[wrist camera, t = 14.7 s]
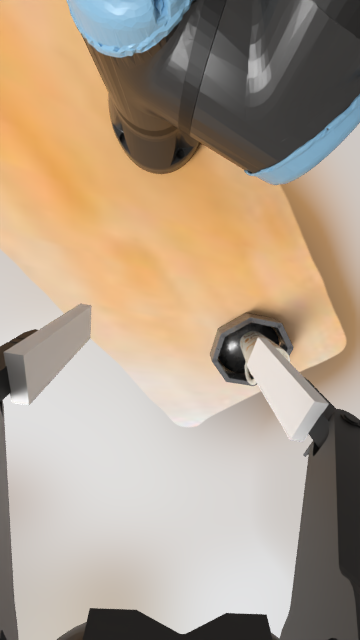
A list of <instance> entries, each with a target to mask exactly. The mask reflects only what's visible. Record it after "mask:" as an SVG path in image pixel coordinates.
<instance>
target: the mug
mask: <svg viewBox="0 0 360 640" xmlns="http://www.w3.org/2000/svg"><path fill="white" fill-rule="evenodd" d="M258 337H260V338H265V339H268V338H267V337H265V336H264V335H262V334H261V333H259V332H257V331H250V332H247V333H246V334H244V335H243V336H242V338H241V340H240V347H241V350H242V352H243V355H244V358H245V361H246V362H245V375H246V379H247V381H248V383H249V384H251V385H255V384H256V381H255V379H251V378H250V376H249V371H250V370H249V371H248V367H247V363H248V360H249V358H250V355H251V353H252V351H253V348H254V346H255V343H256V341H257V338H258ZM268 341H269V342H270V343H271V344H272V345H273V346H274V347H275V348H276V349H277V350H278V351H279V352H280V353H281V354H282V355H283V356H284V357H285V358H286V359H287V360H288V361H289V363H290V357H289V355H288V353H287V352H286V351H285V350H284V349H282V348H281V347H280V346H278V345H277V344H275V343H274V342H272V341H271V340H270V339H268ZM250 373H251V372H250ZM251 375H252V374H251Z"/></svg>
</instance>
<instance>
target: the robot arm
mask: <svg viewBox="0 0 360 640" xmlns="http://www.w3.org/2000/svg"><path fill="white" fill-rule="evenodd" d="M67 3H68V6H69V9H70V13H71V16H72V18H73V20H74V22H75V24H76V26H77V28H78V30H79V32H80V33H81V35H82V37H83V39H84V41H85V43H86V45H87V47H88V50H89V52H90V54H91V56H92V58H93V60H94V62H95V65H96V67H97V69H98V71H99V73H100V75H101V77H102V80H103V82H104V84H105V86H106V88H107V90H108V96H109V112H110V118H111V122H112V126H113V129H114V132H115V134H116V137H117V139H118V141H119V143H120V145H121V146H122V148H123V150H124V151H125V153H126V154H127V156H128V157H129V158H130V159H131V160H132V161H133V162H134V163H135V164H136V165H137V166H139V167H140V168H142V169H144V170H146V171H148V172H151V173H156V174H165V173H170V172H173V171H175V170H177V169H179V168H181V167H182V166H183V165H185V164H186V163H187V162H188V161H189V159H190V158H191V157H192V155H193V154H194V152H195V151H196V149H197V147H198V144H199V142H200V143H202V144H203V145H205V146H207V147H208V148H210V149H212V150H213V151H215V152H216V153H218V154H220V155H221V156H223V157H224V158H226V159H228V160H229V161H231V162H233V163H234V164H236V165H237V166H239V167H241V168H242V169H244V171H245V173H246V174H248V175H250V176H256V177H258V178H260V179H262V180H263V181H265V182H267V183H269V184H272V185H279V184H286V183H289V182H291V181H293V180H295V179H297V178H299V177H301V176H302V175H304V174H305V173H307V172H308V171H309V170H311V169H312V168H313V167H315V166H316V165H317V164H318V163H319V162H321V161H322V160H323V159H324V158H325V157H327V156H328V155H329V154H330V153H331V152H332V151H333V150H334V149H335V148H336V147H337V146H338V145H339V144H340V143H341V142H342V141H343V140H344V139H345V138H346V137H347V136H348V135H349V134H350V133H351V132H352V131H353V130H354V129H355V127H356V126H357V125H358V124H359V123H360V0H67ZM90 330H91V305H86V304H79V305H78V306H76V307H75V308H73V309H71V310H70V311H68V312H67V313H65V314H63V315H62V316H60V317H59V318H57V319H55V320H54V321H52V322H51V323H49V324H48V325H46V326H44V327H43V328H41V329H40V330H31V331H28V332H25V333H23V334H21V335H19V336H18V337H16V338H14V339H12V340H11V341H10V342H7V343H6V344H4V345H2V346H0V640H18V630H17V619H16V611H15V604H14V591H13V590H14V589H13V571H12V553H11V535H10V516H9V499H8V480H7V461H6V445H5V444H6V443H5V427H4V426H5V425H4V406H3V401H2V400H3V399H4V398H5V397H6V396H7V395H8V394H10V395H11V402H12V403H17V404H24V405H30V404H31V403H32V402H33V400H34V399H35V398H36V397H37V396H38V395H39V394H40V393H41V392H42V390H43V389H44V388H45V387H46V386H47V385H48V384H49V383H50V382H51V381H52V379H54V377H55V376H56V375H57V374H58V373H59V372H60V371H61V370H62V369H63V367H64V366H65V365H66V364H67V363H68V362H69V361H70V360H71V359H72V358H73V357H74V355H75V354H76V353H77V352H78V351H79V350H80V349H81V347H83V345H84V344H85V343H86V342H87V341H88V340H89V339H90ZM247 367H248V369H249V370H250V372H251V374H252V376H253V377H254V379H255V381H256V383H257V384H258V386H259V388H260V389H261V391H262V393H263V394H264V396H265V398H266V400H267V401H268V403H269V405H270V407H271V408H272V410H273V412H274V414H275V415H276V417H277V419H278V420H279V422H280V424H281V426H282V427H283V429H284V431H285V432H286V434H287V436H288V438H289V439H290V440H292V441H299V442H303V441H304V440H305V438H306V437H307V436H308V434H309V435H310V436H311V438H312V439H313V442H312V443H311V445H310V446H309V447H308V449H307V450H306V452H305V453H304V456H305V457H306V455H309V457H308V466H307V475H306V482H305V491H304V499H303V507H302V515H301V524H300V532H299V540H298V549H297V557H296V565H295V575H294V583H293V591H292V599H291V606H290V611H289V614H288V617H287V619H286V622H285V624H284V627H283V629H282V632H281V636H280V639H279V638H278V637H276V636H275V635H274V634H272V633H271V631H270V627H269V623H268V619H267V615H262V614H234V613H226V614H224V615H222V616H220V617H218V618H216V619H214V620H212V621H210V622H208V623H206V624H204V625H202V626H201V627H198V628H197V629H195V630H193V631H191V632H189V633H187V634H179V633H177V632H175V631H173V630H172V629H170V628H168V627H166V626H164V625H163V624H161V623H159V622H157V621H155V620H154V619H152V618H150V617H148V616H146V615H145V614H143V613H141V612H139V611H137V610H123V609H122V610H121V609H95V608H90V611H89V615H88V619H87V622H86V623H83V624H81V625H79V626H77V627H75V628H73V629H72V630H70V631H68V632H67V633H65V634H64V635H62V636H61V637H59V638H58V639H57V640H360V420H359V419H358V418H357V417H355V416H354V415H352V414H350V413H349V412H346V411H344V410H341V409H336V408H335V407H334V406H333V405H332V404H331V403H330V402H329V401H328V400H327V399H326V398H325V397H324V396H323V395H322V394H321V393H319V391H318V390H317V389H316V388H314V386H313V385H312V383H311V382H310V381H309V380H307V379H306V378H304V377H303V376H302V375H301V374H300V373H299V372H298V371H297V370H296V369H295V368H294V367H293V366H292V365H291V364H290V363H289V361H288V360H287V359H286V358H285V357H284V356H283V355H282V354H281V353H280V352H279V351H278V350H277V349H276V348H275V347H274V346H273V345H272V344H271V343H270V342H269V341H268V339H265V338H260V337H258V338H257V341H256V343H255V346H254V348H253V351H252V353H251V355H250V358H249V360H248V363H247Z"/></svg>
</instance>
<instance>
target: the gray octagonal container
mask: <svg viewBox="0 0 360 640" xmlns="http://www.w3.org/2000/svg"><path fill="white" fill-rule="evenodd" d="M272 327H274V328H275V330H276V332H277V333H276V332H275V330H274V329H273V328H272ZM250 331H257V332H259V333H261V334H262V335H264V336H265V337H267V338H268V339H270V340H271V341H272V342H274V343H275V344H277V345H278V346H279V339H278V336H279V338H280V340H281V342H282V343H281V345H280V347H281V348H282V349H284V350H285V351H286V352H287V353H288V355H290V353H291V352H292V350H293V346H292V344H291V341H290V339H289V337H288V335H287V333H286V331H285V329H284V327H283V325H282V323H281V322H279V321H278V320H277V319H275V318H270V317H265V316H260V315H255V314H250V313H245V314H243V315H241V316H239V317H238V318H236V319H234V320H232V321H231V322H229V323H227V324H225V325H224V326H222V327H220V328H218V330H217V334H216V337H215V340H214V343H213V346H212V349H211V352H210V357H211V360H212V362H213V363H214V365H215V366H216V368H217V369H218V371H219V372H220V374H221V375H222V376H223V378H224V379H225V381H226V382H232V383H238V384H244V385H250V386H255V385H257V383H256V384H255V385H251V384H249V383H248V381H247V379H246V375H245V362H246V361H245V358H244V355H243V352H242V350H241V347H240V340H241V338H242V336H243V335H244V334H246V333H247V332H250ZM277 334H278V336H277ZM218 356H219V359H220V361H221V362H220V361H219V359H218ZM221 363H222V364H223V365H224V366H225V367H226V368H227V369H229V370H230V371H233V372H230V371H226V370H225V368H224V367H223V365H222V364H221ZM248 371H249V369H248ZM249 373H250V371H249ZM249 376H250V378H251V379H254V377H253V376H252V375H251V374H250V375H249Z"/></svg>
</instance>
